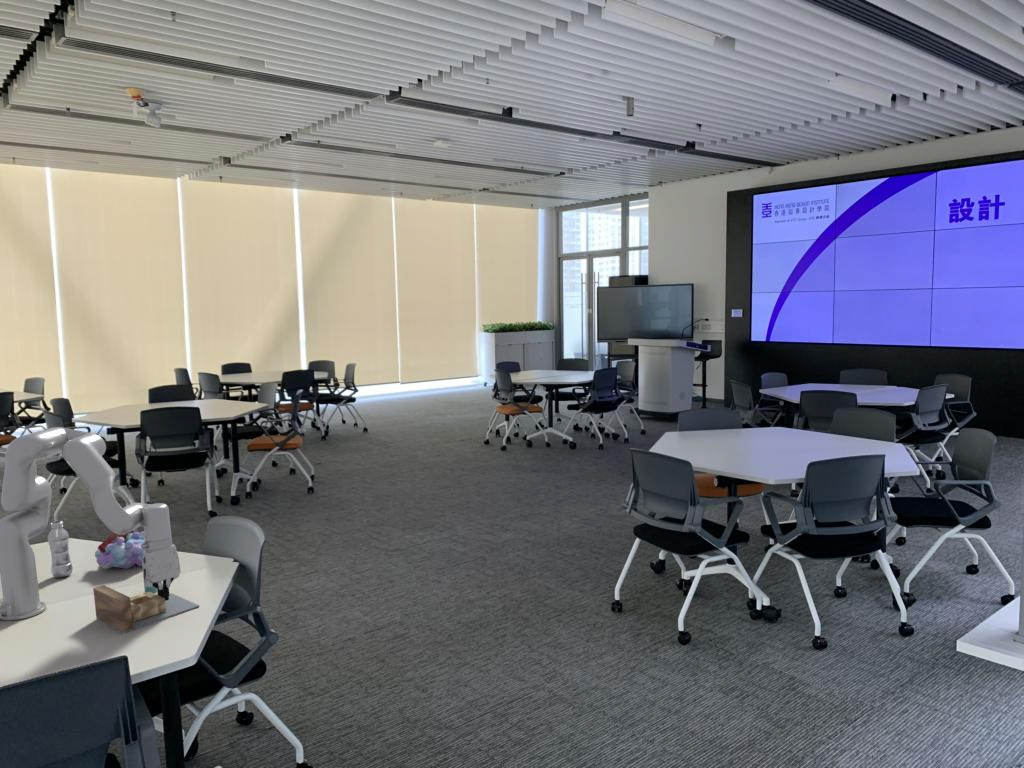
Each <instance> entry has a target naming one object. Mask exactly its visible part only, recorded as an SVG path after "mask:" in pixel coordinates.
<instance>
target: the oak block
mask: <svg viewBox="0 0 1024 768" xmlns="http://www.w3.org/2000/svg"><path fill="white" fill-rule="evenodd" d="M130 601H131V612H132V622H135V621H138V620H141V619H144V618H147V617H150V616H153V615H156V614H159V613H161V612H164V611H166V605H165V598H163V597H161V596H158V594H156V593H152V592H147V593H145V592H144V593H141V594H138V595H135V596H132V597H130Z"/></svg>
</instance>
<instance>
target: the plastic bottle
mask: <svg viewBox="0 0 1024 768" xmlns="http://www.w3.org/2000/svg"><path fill="white" fill-rule="evenodd" d="M50 529H51V530H50V531H49V533H48V535H47V541H48V545H49V549H50V553H51V568H50V572H51V575H52V576H53V577H54V578H64V577H68V576H70V575H71V574H72V573H73V568H74V567H73V563H72V562H71V557H70V551H69V539H70V538H69V533H68V531H67V530H66V529H65V528H64V521H63V520H54V521H52V522H50Z"/></svg>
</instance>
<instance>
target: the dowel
mask: <svg viewBox="0 0 1024 768" xmlns="http://www.w3.org/2000/svg"><path fill="white" fill-rule="evenodd" d="M143 554H144V551H143V552H141V557H142V566H141V568H143ZM144 583H145V580H144V579H143V584H144ZM143 587H144V593H147V592H152V593H154V594H156V593H157V588H155V587H153V586H152V587H146V586H143Z"/></svg>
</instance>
